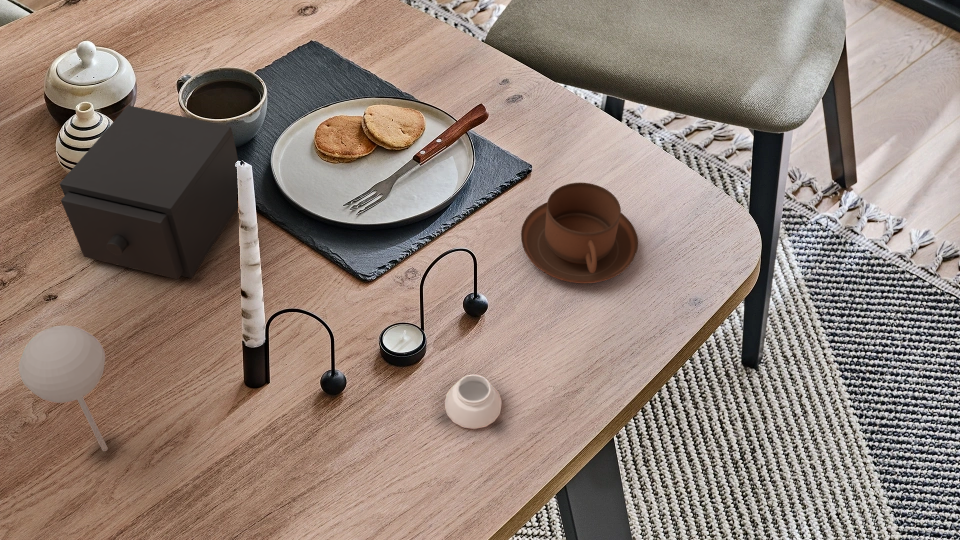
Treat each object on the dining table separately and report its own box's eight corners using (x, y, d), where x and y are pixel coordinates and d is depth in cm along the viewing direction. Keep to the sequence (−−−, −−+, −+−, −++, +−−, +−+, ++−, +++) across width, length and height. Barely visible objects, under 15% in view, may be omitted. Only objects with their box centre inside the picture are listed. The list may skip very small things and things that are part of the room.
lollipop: (150, 421, 83) (104, 310, 72) (131, 480, 79) (80, 373, 68) (79, 418, 83) (23, 307, 72) (57, 478, 79) (-6, 370, 68)
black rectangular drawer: (172, 288, 92) (154, 231, 86) (77, 265, 94) (53, 208, 88) (230, 202, 100) (217, 146, 95) (142, 183, 102) (123, 126, 96)
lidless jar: (463, 376, 87) (434, 414, 84) (464, 356, 85) (434, 395, 82) (511, 400, 85) (482, 440, 82) (512, 380, 83) (483, 421, 80)
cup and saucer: (658, 269, 97) (668, 227, 92) (557, 308, 93) (562, 266, 88) (595, 197, 104) (602, 154, 99) (499, 230, 100) (502, 187, 95)
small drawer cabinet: (191, 278, 94) (170, 208, 87) (87, 253, 96) (59, 183, 89) (246, 196, 102) (231, 126, 95) (149, 174, 104) (128, 105, 97)
